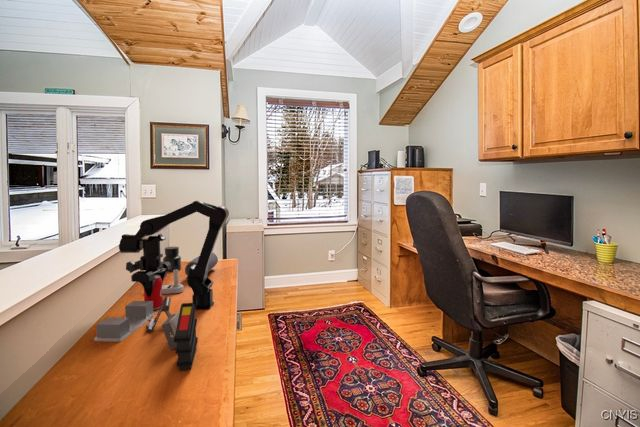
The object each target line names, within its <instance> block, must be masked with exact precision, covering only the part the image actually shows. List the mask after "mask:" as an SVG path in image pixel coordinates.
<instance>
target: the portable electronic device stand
mask: <svg viewBox="0 0 640 427" xmlns="http://www.w3.org/2000/svg"><path fill="white" fill-rule="evenodd" d="M171 300H172V298H171V297H170V296H165V297H164V298H163V303H162V305H161V307H160V308H159V309H158V312H157V314H156V316H155V318H152V317H151V316H150V318H149V320H148V322H147V325H146V332H147V333H148V334H151V333H152V332H153V331H154V329H155V327H156V326H157V322H158V320H159V318H160V316H161V313H162V312H164V313H165V314H166V316H167V319H168V318H169V317H170V316H171V315H172V313H171V312H170V306H171Z"/></svg>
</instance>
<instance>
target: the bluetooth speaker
mask: <svg viewBox="0 0 640 427" xmlns="http://www.w3.org/2000/svg"><path fill="white" fill-rule="evenodd" d="M199 256H200V255H198V256H197V257H195V258H193V259H192V260H190V261H189V262H188V263H187V264H186V265H185V268H184V273H185V275H186V276H188V275H189V269H190V268H191V267H192V266H193V265H196V264H197V262H198V259H199ZM218 261H219V258H218V256H217V255H216V253H214V252H212V255H211V258H210V261H209V264H208V273H209V272H210V271H211V270H212V269H213V268H214V267H216V265H217V264H218Z"/></svg>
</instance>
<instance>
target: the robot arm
mask: <svg viewBox="0 0 640 427" xmlns="http://www.w3.org/2000/svg"><path fill="white" fill-rule="evenodd" d="M229 212H230V211H229V210H228V208H227V207H226V206H223V205H218V206H217V205H214V204H210V203H206V202H204V201H202V200H194V201H192V202H191V203H189V204H187V205H184V206H183V207H180V208H177V209H175V210H173V211H171V212H169V213H166V214H164V215H160V216H156V217H155V216H154V217H152V218H148V219H145V220H142V221H141V222H140V225H139V229H138V231H137V232H136V234H128V233H127V234H126V233H125V234H122V235H121V238H120V241H119V244H118V250H119V251H120V253H121V254H139V253H140V252H141V251H142V252H143V254H142V255H141V256H140V257H139V260H136V261H134V260H131V261H128V262H126V263H125V270H126V271H128V272H129V273H130V274H131V273H133V272H134V273H133V274H131V276H130V278H131V279H130V280H131V282H133V283H140V284H141V285H142V287H143V291H144V290H145V292H146V294H147V296H148V297H150V296H151V294H152V291H153V287H154V284H155V280H156V278H153V277H154V275H160V277H161V279H162V284H164V280H165V279H166V277H167V274H168V273H169V271H165V269H167V270H170V269H171V263H170V262H163V261H162V259H161V258H164V257H163V256H164V255H163V254H164V253H161V242H163V241H166V239H167V237H165V236H164V235H163V234H162V233H159V232H161V231H162V230H164V229H165V228H167V227H168V226H169V225H171V224H172V223H175V222H176V221H177V222H178V221H179V220H181V219H184V218H187V217H189V216H190V215H193V214H195V213H199V214H201V215H203V216H205V217H208V218H209V220H208V230H207V234H206V237H205V238H204V242H203V245H202V248H201V251H200V253H199V255H198V256H199V259H198V262H197V264H196V265H193V266H192V267H191V268H190V269H189V275H188V276H187V275H186V276H187V277H185V279H186V280H187V285H188V286H189V288H190V289H191V290H192V293H193V294H192V296H191V297H192V301H191V303H194V305H196V308H195V310H210V309H211V308H212V307H213V305H215V301H213V300H214V296H213V292H214V291H213V288H212V286H213V284H214V281H213V280H212V279H210V278H209V277H208V275H209V272H208V264H209V261H210V258H211V255H212V253H214V249H215V246H216V243H217V240H218V237H219V235H220V231H221V229H222V228H223V226H224V225H225V223H226V221H227V219H228V218H229V214H230V213H229ZM154 234H158V235H154ZM145 237H147V238H145Z"/></svg>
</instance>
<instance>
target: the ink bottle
mask: <svg viewBox="0 0 640 427" xmlns="http://www.w3.org/2000/svg"><path fill="white" fill-rule="evenodd" d="M179 254H180V250H179V246H167V247H165V248H164V255H165V256H164V257H162V262H170V263H171V269H170V270H167V269H165V271H168V272H173V270H176V269H177V270H178V271H180V270H181V269H182V257H181V255H179Z"/></svg>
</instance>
